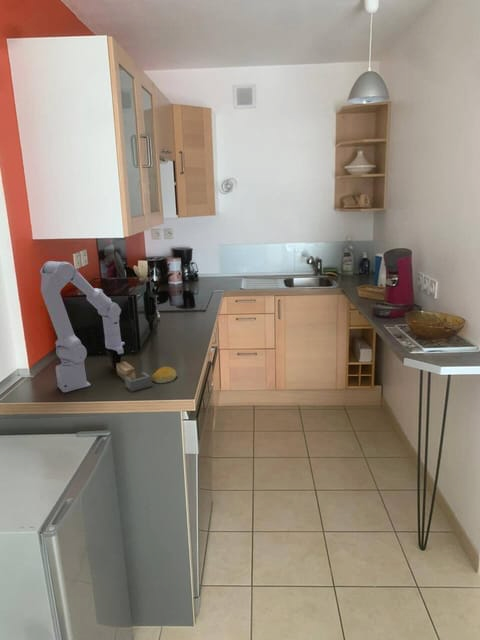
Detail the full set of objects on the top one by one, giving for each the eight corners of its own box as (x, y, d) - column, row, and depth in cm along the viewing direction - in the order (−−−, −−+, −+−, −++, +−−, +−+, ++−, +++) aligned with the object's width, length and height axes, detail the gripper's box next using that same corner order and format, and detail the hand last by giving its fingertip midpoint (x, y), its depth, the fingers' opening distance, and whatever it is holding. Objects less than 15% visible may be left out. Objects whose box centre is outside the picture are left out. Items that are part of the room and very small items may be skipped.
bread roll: (148, 383, 165) (147, 373, 164) (159, 374, 174) (158, 364, 173) (170, 384, 163) (169, 373, 162) (180, 375, 172) (179, 364, 170)
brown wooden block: (126, 382, 167) (125, 370, 166) (117, 374, 175) (116, 363, 174) (136, 380, 169) (134, 368, 168) (126, 372, 177) (125, 361, 176)
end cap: (131, 391, 158) (130, 381, 157) (125, 386, 163) (124, 377, 162) (152, 385, 162) (151, 376, 161) (145, 381, 167) (144, 372, 166)
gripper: (129, 335, 173) (133, 369, 176) (115, 327, 184) (120, 360, 188) (111, 338, 169) (115, 374, 172) (98, 330, 181) (102, 364, 184)
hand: (116, 367), depth 180 cm, fingers closed
